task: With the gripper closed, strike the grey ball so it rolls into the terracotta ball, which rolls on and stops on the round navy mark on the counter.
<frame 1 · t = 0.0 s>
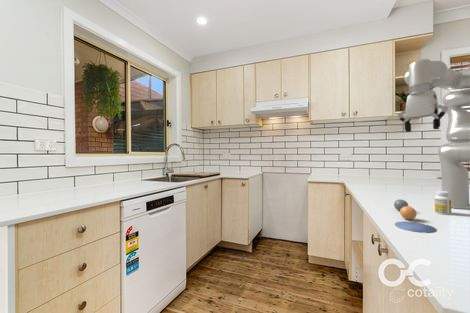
hand: (421, 130, 92), 37 cm above the table, tool pointing down, fingers open, 9 cm apart
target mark: (414, 226, 82), on the table
object ball: (408, 212, 90), on the table
supplement bottle: (443, 213, 97), on the table
grey ball: (401, 205, 103), on the table
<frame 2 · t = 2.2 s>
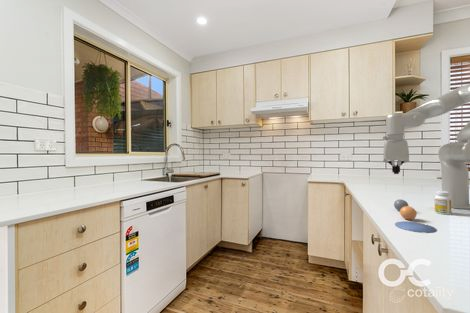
hand: (396, 173, 111), 17 cm above the table, tool pointing down, fingers closed
nothing on the table moved.
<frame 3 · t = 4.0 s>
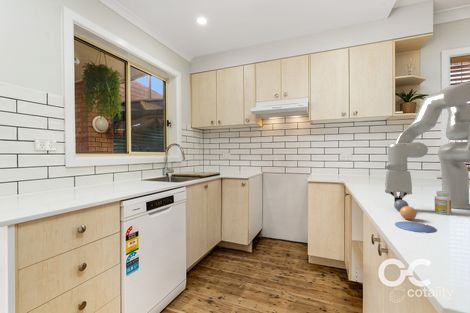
hand: (398, 205, 106), 2 cm above the table, tool pointing down, fingers closed
grey ball: (401, 205, 102), on the table, touching gripper
everything else where it was.
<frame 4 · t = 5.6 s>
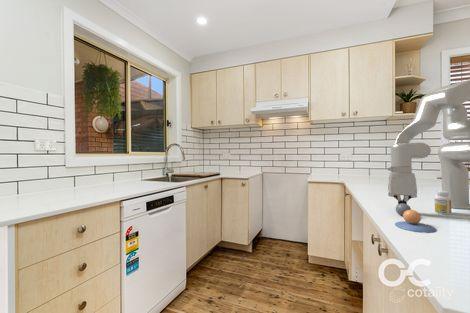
hand: (402, 209, 100), 2 cm above the table, tool pointing down, fingers closed
object ball: (411, 216, 85), on the table
grey ball: (403, 209, 95), on the table
everything else where it was.
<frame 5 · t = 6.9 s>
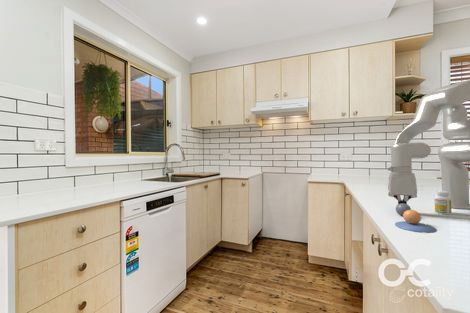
hand: (402, 209, 100), 2 cm above the table, tool pointing down, fingers closed
nothing on the table moved.
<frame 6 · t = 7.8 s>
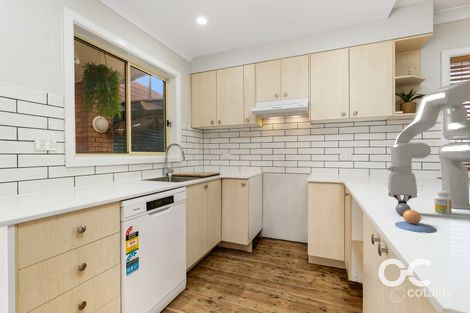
hand: (402, 209, 100), 2 cm above the table, tool pointing down, fingers closed
nothing on the table moved.
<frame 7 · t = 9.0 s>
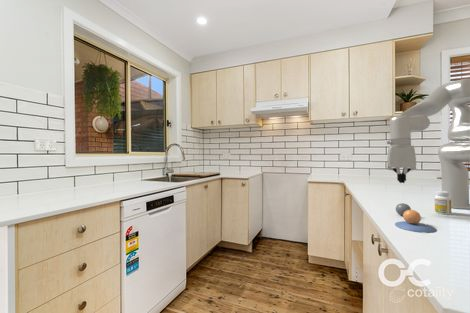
hand: (401, 182, 100), 14 cm above the table, tool pointing down, fingers closed
nothing on the table moved.
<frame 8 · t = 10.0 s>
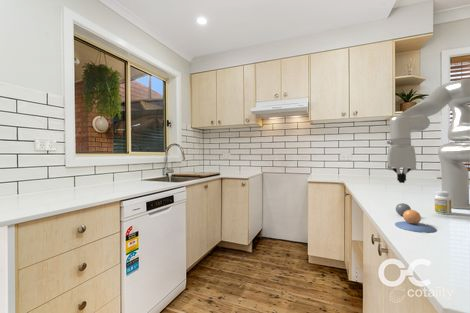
hand: (401, 182, 100), 14 cm above the table, tool pointing down, fingers closed
nothing on the table moved.
at the end: object ball 3.9 cm from the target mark (horizontally); object ball never touched the robot; grey ball first touched object ball at 4.3 s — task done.
